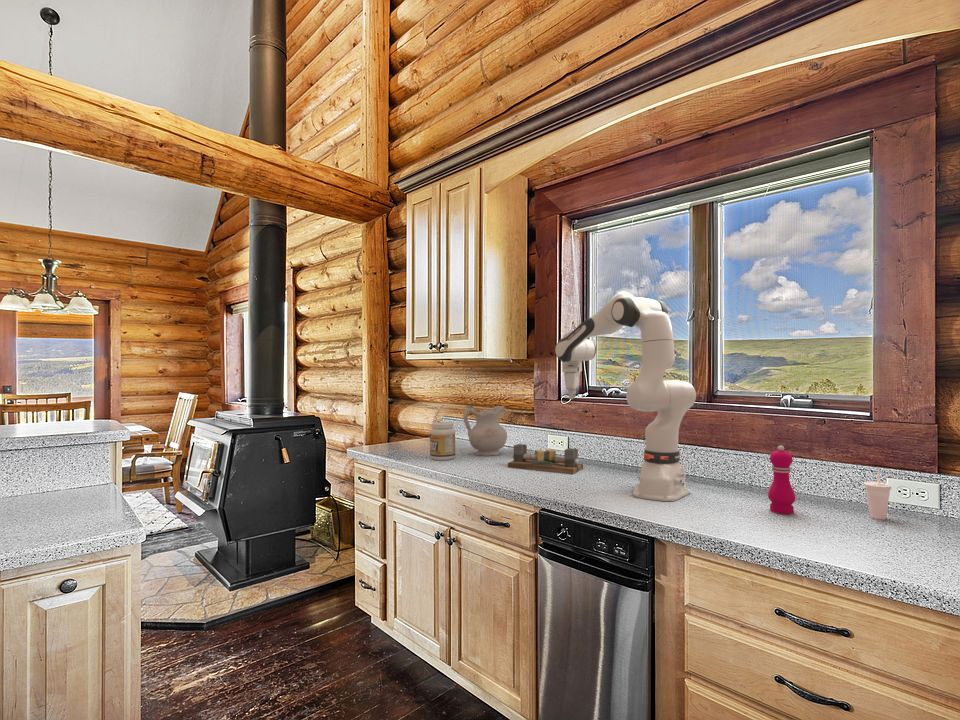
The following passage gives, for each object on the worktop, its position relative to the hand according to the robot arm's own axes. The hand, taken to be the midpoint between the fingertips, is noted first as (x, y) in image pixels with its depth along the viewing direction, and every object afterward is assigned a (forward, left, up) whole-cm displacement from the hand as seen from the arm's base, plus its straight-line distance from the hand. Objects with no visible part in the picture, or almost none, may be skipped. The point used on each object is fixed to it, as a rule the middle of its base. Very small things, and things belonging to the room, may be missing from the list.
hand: (572, 398), depth 238 cm
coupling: (-18, +6, -26) cm, 32 cm away
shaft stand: (-18, +6, -29) cm, 35 cm away
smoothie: (-36, -107, -29) cm, 117 cm away
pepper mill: (-42, -83, -29) cm, 98 cm away
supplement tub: (-21, +58, -29) cm, 68 cm away
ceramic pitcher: (-1, +46, -29) cm, 54 cm away
